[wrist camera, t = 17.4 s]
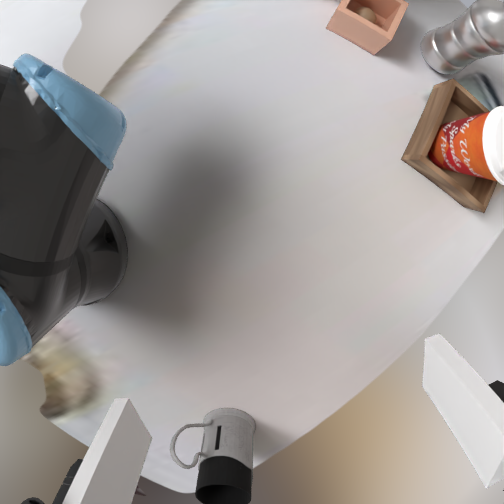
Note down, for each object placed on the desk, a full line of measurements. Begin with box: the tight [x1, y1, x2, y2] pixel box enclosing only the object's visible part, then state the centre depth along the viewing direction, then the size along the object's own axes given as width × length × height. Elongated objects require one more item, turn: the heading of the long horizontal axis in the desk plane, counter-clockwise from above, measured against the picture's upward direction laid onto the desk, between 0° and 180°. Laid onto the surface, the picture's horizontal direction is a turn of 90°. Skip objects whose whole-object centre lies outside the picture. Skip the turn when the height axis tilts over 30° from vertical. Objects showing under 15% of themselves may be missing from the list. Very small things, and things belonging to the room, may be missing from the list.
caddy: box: [401, 79, 497, 213], centre depth 34 cm, size 12×12×5 cm
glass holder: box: [170, 408, 256, 504], centre depth 41 cm, size 9×14×15 cm, turn 41°
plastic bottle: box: [421, 0, 504, 74], centre depth 23 cm, size 6×7×20 cm
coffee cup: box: [428, 106, 504, 186], centre depth 29 cm, size 8×8×15 cm
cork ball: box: [354, 7, 377, 24], centre depth 30 cm, size 3×3×3 cm
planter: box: [326, 0, 409, 55], centre depth 30 cm, size 7×7×6 cm
